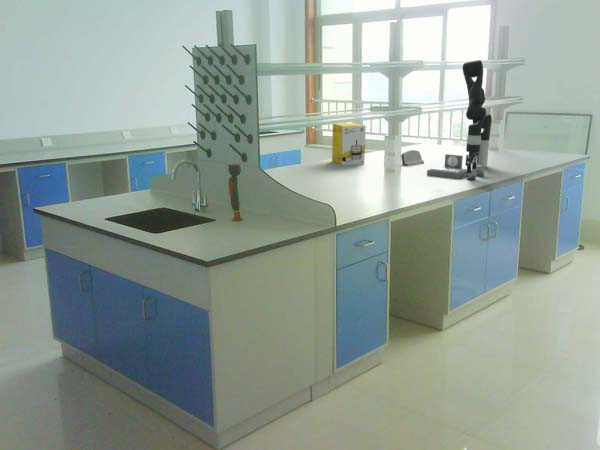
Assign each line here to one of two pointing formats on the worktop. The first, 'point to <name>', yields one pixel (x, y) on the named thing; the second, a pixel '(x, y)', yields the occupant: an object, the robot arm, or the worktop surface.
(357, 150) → the packaging box
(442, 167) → the scale
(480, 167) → the cylinder
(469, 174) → the cylinder
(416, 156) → the grey rounded panel
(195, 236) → the worktop surface
